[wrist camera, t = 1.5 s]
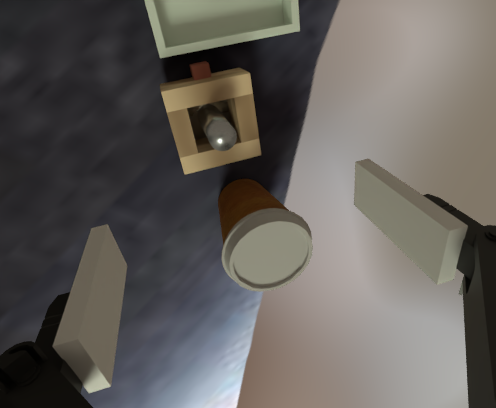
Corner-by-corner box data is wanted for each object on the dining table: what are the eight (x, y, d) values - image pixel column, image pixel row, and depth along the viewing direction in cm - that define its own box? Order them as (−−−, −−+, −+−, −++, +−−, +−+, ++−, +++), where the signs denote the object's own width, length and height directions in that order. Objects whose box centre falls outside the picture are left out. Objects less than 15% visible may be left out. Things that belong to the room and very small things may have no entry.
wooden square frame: (181, 159, 35) (184, 174, 32) (155, 70, 30) (156, 77, 27) (251, 142, 36) (261, 155, 33) (237, 54, 31) (248, 58, 28)
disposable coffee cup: (288, 177, 41) (333, 227, 31) (259, 237, 45) (291, 299, 35) (220, 157, 38) (247, 206, 28) (195, 223, 41) (210, 289, 31)
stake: (183, 149, 36) (192, 184, 28) (165, 85, 32) (170, 105, 25) (242, 135, 37) (266, 164, 30) (232, 71, 33) (256, 86, 26)
